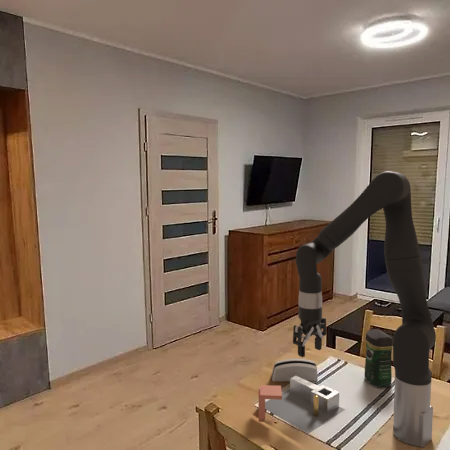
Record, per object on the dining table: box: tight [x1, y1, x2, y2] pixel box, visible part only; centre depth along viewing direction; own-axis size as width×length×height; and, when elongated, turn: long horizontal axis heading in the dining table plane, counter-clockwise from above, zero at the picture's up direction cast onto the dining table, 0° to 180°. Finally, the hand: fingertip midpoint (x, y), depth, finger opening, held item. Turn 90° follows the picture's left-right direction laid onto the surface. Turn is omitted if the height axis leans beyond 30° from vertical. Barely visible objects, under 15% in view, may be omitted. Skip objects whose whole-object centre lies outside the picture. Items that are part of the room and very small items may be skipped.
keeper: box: [258, 384, 283, 423], centre depth 123 cm, size 7×6×8 cm
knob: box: [313, 395, 319, 417], centre depth 122 cm, size 2×2×7 cm
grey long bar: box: [289, 376, 340, 415], centre depth 130 cm, size 16×6×5 cm, turn 40°
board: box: [265, 389, 346, 434], centre depth 127 cm, size 20×18×1 cm
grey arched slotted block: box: [270, 358, 319, 382], centre depth 145 cm, size 17×5×10 cm, turn 90°
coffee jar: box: [363, 328, 393, 388], centre depth 143 cm, size 10×8×19 cm
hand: (310, 352), depth 131 cm, fingers open, 8 cm apart
